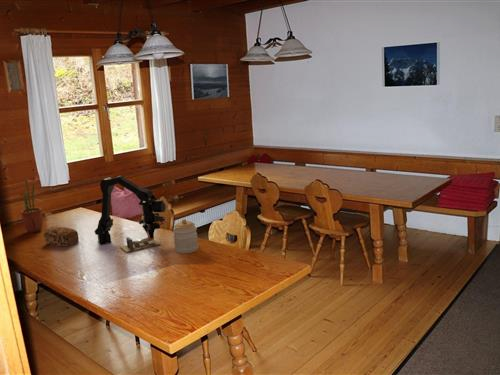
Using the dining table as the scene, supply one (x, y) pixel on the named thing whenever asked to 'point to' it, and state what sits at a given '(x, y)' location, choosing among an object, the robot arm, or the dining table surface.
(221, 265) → the dining table surface
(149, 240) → the bolt
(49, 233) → the bread
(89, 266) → the dining table surface
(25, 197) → the potted plant
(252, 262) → the dining table surface
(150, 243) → the latch board
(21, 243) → the dining table surface
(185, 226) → the jar
